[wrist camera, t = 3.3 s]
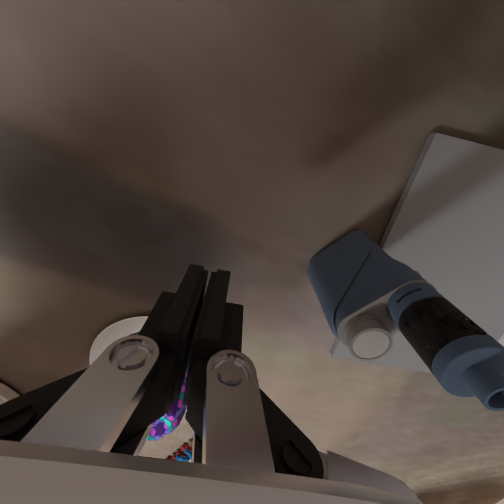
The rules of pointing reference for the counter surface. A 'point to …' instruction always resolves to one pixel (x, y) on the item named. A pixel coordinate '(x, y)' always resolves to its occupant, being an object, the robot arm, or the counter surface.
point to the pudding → (123, 330)
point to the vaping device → (404, 318)
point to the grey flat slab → (450, 236)
